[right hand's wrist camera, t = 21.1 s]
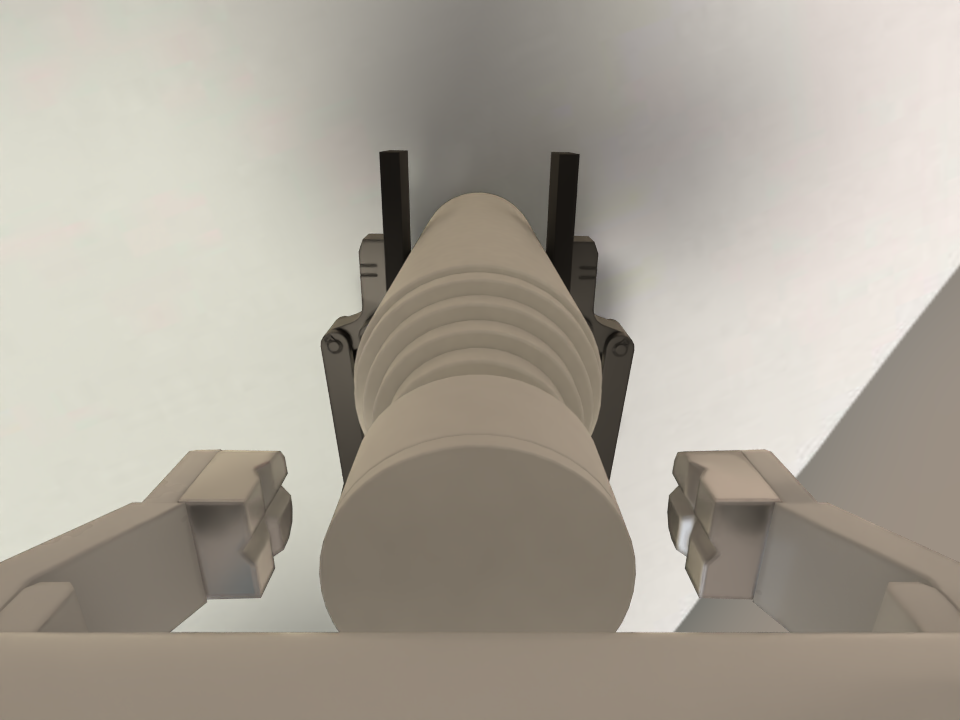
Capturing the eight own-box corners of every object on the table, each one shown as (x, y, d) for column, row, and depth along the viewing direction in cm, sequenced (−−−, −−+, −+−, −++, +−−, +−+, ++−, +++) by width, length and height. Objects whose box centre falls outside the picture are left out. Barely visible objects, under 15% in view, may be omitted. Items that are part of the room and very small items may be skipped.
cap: (487, 622, 11) (490, 740, 9) (303, 497, 10) (255, 596, 8) (653, 477, 10) (702, 572, 8) (465, 319, 9) (461, 378, 7)
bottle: (461, 168, 30) (403, 271, 7) (556, 234, 31) (777, 505, 8) (401, 266, 31) (198, 604, 9) (493, 324, 33) (529, 755, 10)
